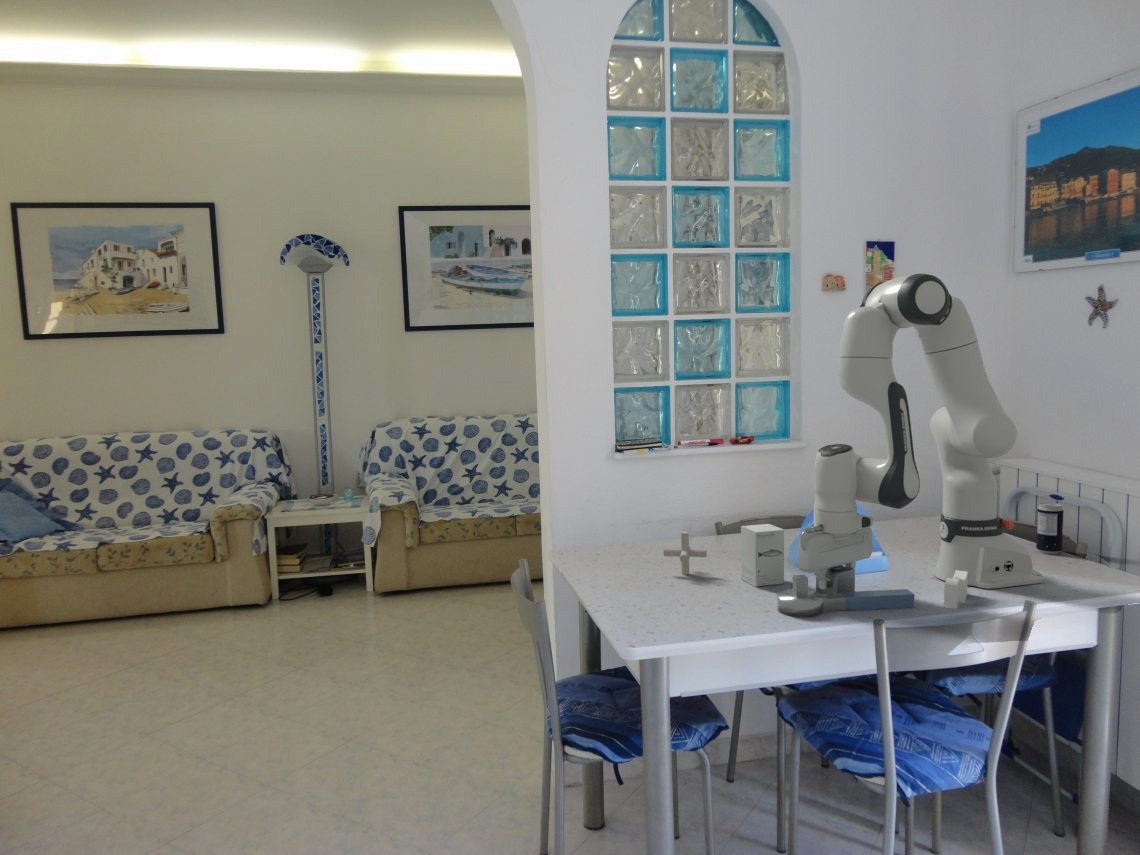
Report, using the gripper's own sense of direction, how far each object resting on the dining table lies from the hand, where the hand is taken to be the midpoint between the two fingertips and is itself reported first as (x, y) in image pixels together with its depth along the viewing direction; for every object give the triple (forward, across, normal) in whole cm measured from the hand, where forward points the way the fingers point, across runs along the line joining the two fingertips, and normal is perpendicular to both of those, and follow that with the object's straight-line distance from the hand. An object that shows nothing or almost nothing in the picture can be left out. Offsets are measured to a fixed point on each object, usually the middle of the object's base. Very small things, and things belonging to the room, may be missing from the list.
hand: (835, 585), depth 186 cm
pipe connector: (+2, -13, +33) cm, 36 cm away
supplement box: (+3, -4, +17) cm, 18 cm away
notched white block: (+3, +16, -17) cm, 24 cm away
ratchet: (+2, -5, -6) cm, 8 cm away
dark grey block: (+2, 0, 0) cm, 2 cm away
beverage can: (+3, +69, -9) cm, 69 cm away
